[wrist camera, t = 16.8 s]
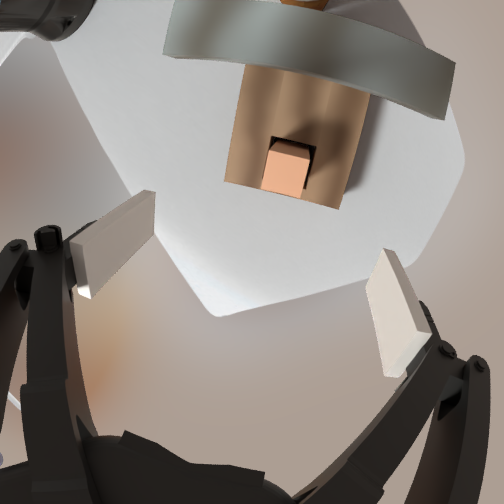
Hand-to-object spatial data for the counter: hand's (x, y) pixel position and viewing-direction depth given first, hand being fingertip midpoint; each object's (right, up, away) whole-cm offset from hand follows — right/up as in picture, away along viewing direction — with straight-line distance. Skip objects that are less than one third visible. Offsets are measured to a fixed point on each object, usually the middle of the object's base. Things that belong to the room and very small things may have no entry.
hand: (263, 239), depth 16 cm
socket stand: (+6, +17, +22) cm, 29 cm away
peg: (+5, +13, +25) cm, 28 cm away
